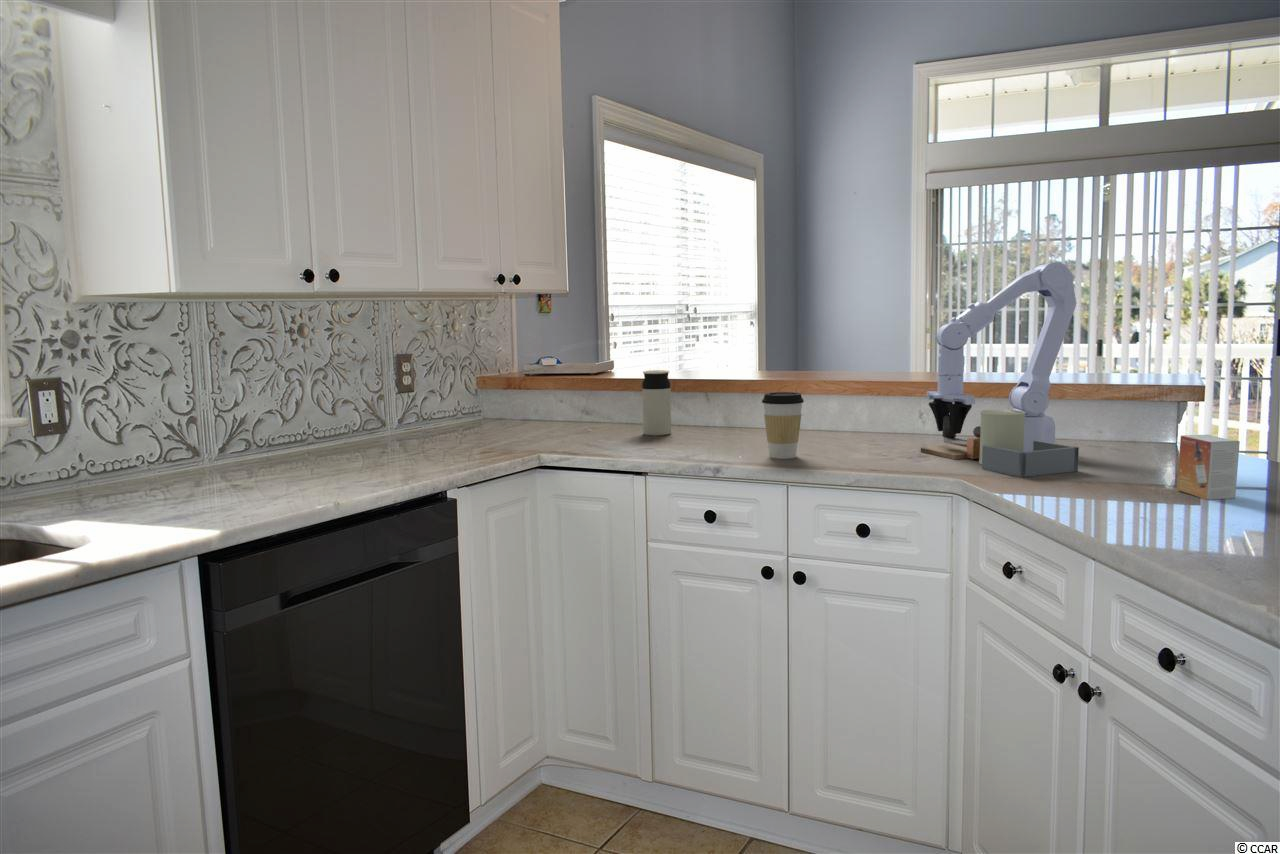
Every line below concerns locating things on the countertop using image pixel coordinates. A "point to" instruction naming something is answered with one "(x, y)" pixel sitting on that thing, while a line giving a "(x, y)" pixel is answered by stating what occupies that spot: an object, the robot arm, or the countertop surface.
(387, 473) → the countertop surface
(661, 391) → the travel mug
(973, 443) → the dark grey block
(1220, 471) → the small box
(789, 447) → the coffee cup
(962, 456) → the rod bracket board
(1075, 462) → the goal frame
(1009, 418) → the can
